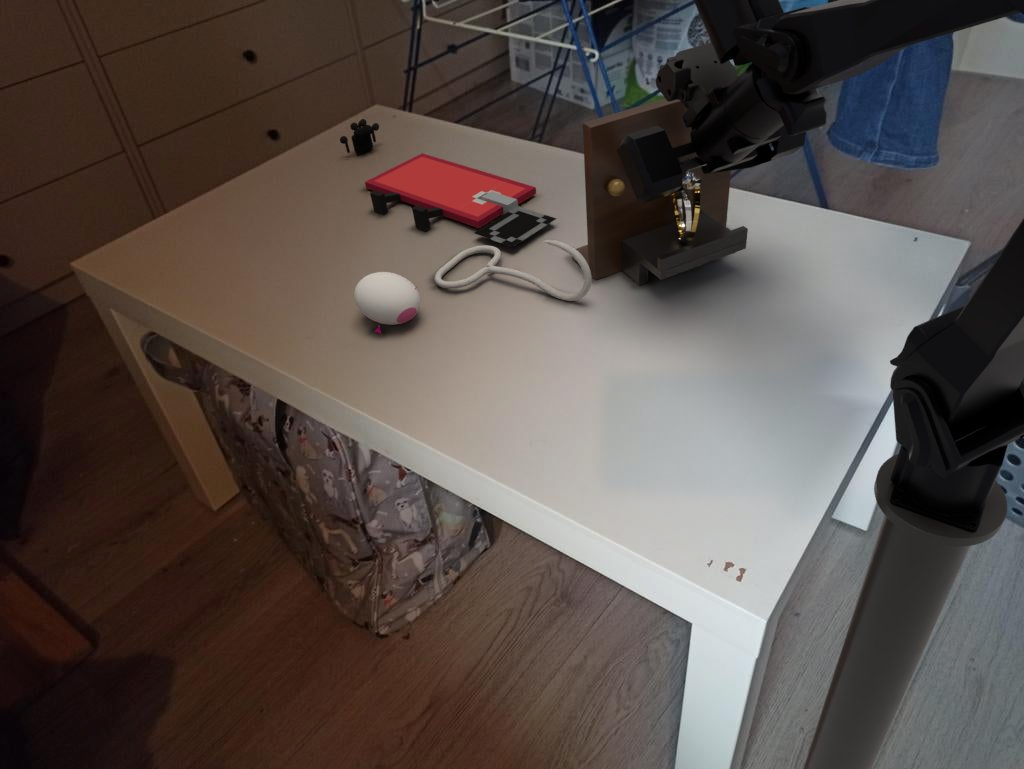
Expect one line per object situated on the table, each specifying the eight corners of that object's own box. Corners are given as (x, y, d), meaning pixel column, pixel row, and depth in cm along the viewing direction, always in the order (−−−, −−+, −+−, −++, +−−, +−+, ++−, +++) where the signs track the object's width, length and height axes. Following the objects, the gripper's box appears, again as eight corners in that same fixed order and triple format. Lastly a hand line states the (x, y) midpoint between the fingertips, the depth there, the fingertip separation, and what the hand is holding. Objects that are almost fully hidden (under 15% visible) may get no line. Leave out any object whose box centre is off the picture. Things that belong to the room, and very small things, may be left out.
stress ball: (432, 340, 90) (444, 282, 89) (394, 342, 83) (406, 279, 82) (378, 324, 93) (389, 268, 92) (336, 324, 86) (347, 263, 85)
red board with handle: (502, 260, 95) (580, 210, 103) (500, 240, 93) (579, 190, 101) (346, 201, 112) (423, 162, 120) (341, 182, 110) (420, 144, 118)
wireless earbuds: (380, 143, 126) (373, 112, 122) (389, 147, 124) (382, 116, 121) (343, 158, 123) (335, 127, 119) (351, 163, 121) (343, 131, 118)
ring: (663, 225, 90) (665, 159, 85) (691, 222, 90) (695, 156, 85) (672, 257, 85) (675, 189, 80) (702, 255, 85) (707, 186, 79)
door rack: (768, 262, 89) (789, 105, 78) (632, 313, 85) (632, 155, 73) (698, 214, 99) (706, 68, 87) (571, 258, 94) (563, 110, 83)
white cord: (574, 327, 83) (431, 303, 94) (616, 281, 88) (476, 264, 100) (561, 266, 79) (413, 249, 90) (606, 222, 84) (461, 211, 96)
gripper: (802, 1, 72) (719, 87, 87) (626, 49, 67) (570, 132, 82) (851, 112, 72) (758, 180, 87) (677, 169, 66) (611, 230, 81)
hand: (676, 178), depth 84 cm, fingers open, 7 cm apart
